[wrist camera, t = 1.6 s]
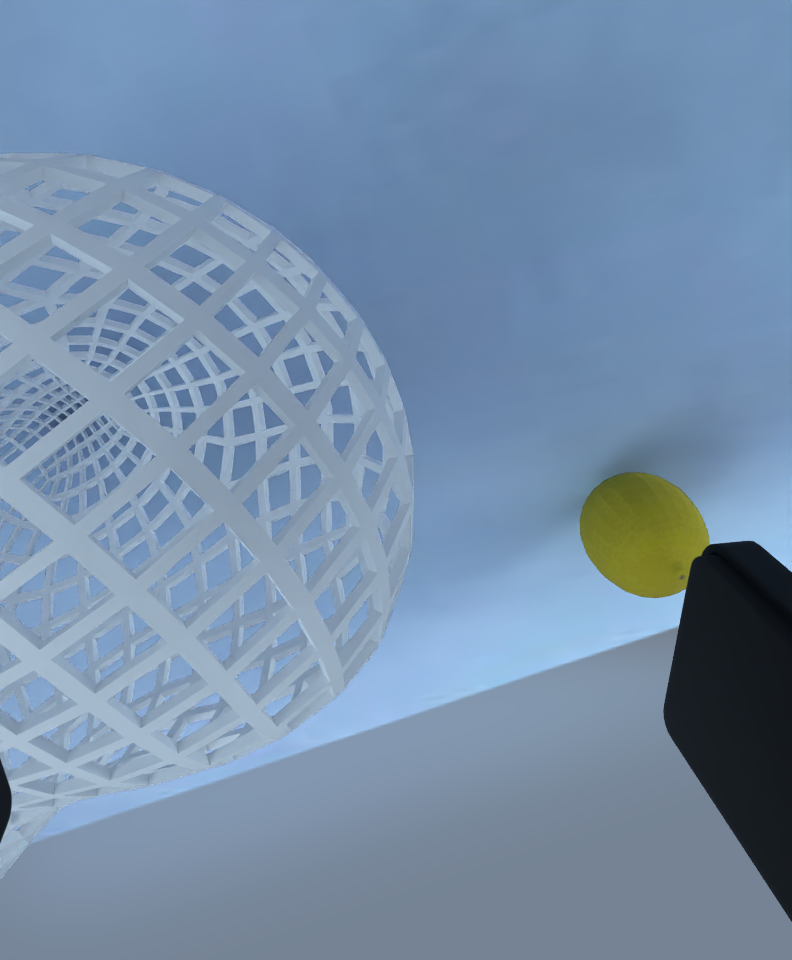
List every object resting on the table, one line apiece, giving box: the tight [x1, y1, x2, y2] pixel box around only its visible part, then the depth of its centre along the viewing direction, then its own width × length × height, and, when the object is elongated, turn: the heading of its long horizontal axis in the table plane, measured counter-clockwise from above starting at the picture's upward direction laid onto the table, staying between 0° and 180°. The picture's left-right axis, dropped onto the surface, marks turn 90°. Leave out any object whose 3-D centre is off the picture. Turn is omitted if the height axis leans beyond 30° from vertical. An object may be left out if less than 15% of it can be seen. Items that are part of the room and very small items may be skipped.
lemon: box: [580, 472, 709, 598], centre depth 35 cm, size 6×6×8 cm
